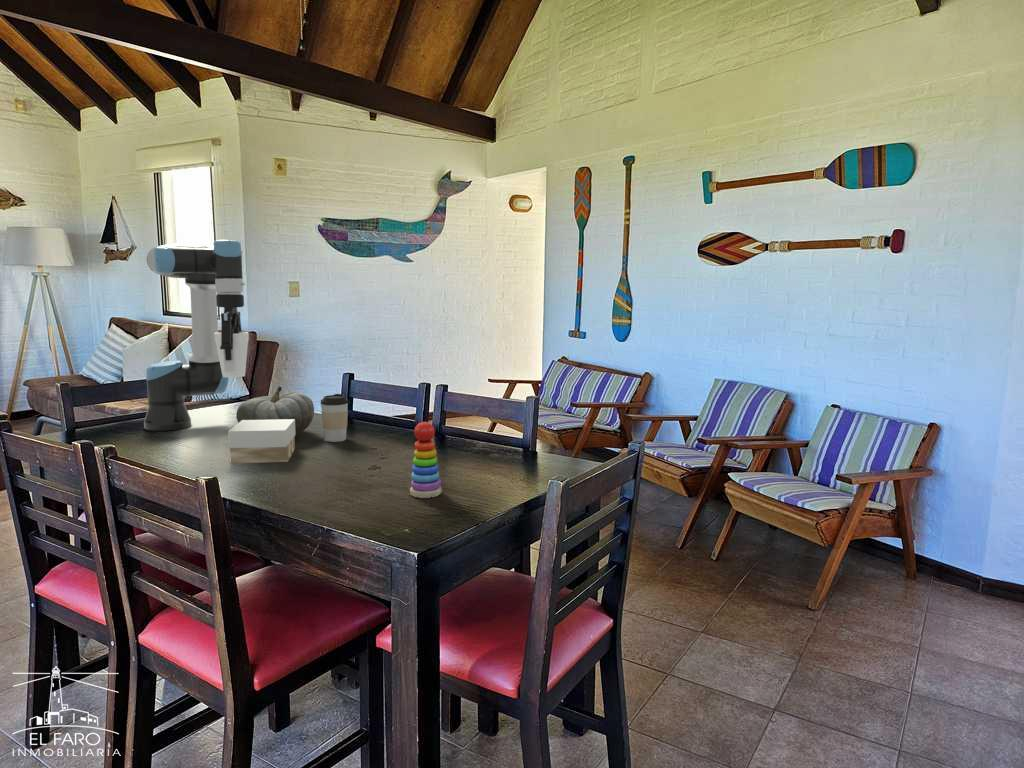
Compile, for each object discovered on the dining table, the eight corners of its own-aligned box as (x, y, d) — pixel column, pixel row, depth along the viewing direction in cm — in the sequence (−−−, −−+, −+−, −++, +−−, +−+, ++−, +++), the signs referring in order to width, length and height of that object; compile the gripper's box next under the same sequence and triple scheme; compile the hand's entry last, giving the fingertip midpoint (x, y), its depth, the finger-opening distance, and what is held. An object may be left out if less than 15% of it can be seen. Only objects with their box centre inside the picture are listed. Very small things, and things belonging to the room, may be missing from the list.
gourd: (329, 430, 232) (317, 380, 229) (256, 452, 218) (242, 400, 215) (304, 424, 252) (293, 379, 250) (235, 444, 238) (222, 396, 236)
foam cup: (256, 376, 206) (254, 332, 204) (225, 379, 199) (222, 334, 197) (241, 373, 212) (239, 331, 210) (211, 376, 206) (209, 332, 204)
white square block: (242, 435, 215) (242, 420, 214) (295, 434, 217) (294, 419, 216) (228, 448, 199) (228, 431, 199) (285, 446, 202) (285, 430, 201)
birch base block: (242, 451, 216) (241, 435, 215) (295, 449, 218) (294, 434, 218) (230, 465, 200) (230, 448, 199) (288, 463, 203) (287, 446, 202)
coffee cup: (341, 443, 226) (340, 398, 224) (316, 441, 228) (315, 397, 225) (353, 437, 235) (352, 393, 232) (329, 435, 236) (327, 392, 234)
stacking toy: (410, 489, 177) (410, 418, 175) (442, 489, 178) (441, 418, 175) (409, 499, 170) (408, 425, 167) (441, 499, 170) (441, 425, 167)
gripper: (234, 294, 192) (238, 373, 195) (250, 293, 214) (254, 365, 217) (206, 294, 191) (210, 374, 194) (225, 293, 212) (229, 365, 215)
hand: (233, 369), depth 205 cm, fingers closed on foam cup, 9 cm apart
